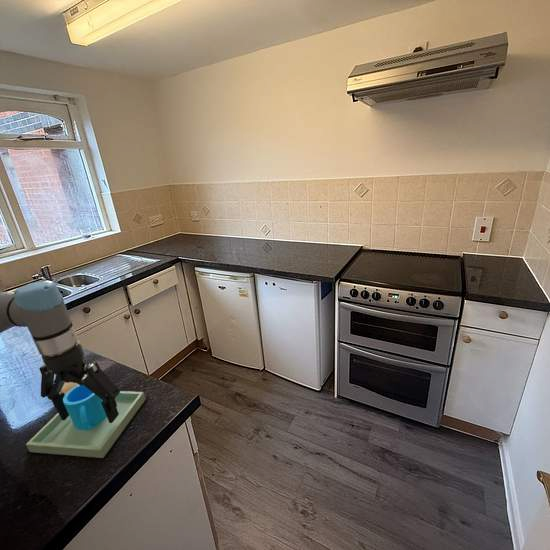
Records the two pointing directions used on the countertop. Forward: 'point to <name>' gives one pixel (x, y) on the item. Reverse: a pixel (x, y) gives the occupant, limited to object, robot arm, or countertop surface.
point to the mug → (84, 408)
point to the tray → (90, 443)
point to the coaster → (70, 386)
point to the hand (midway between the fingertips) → (90, 417)
